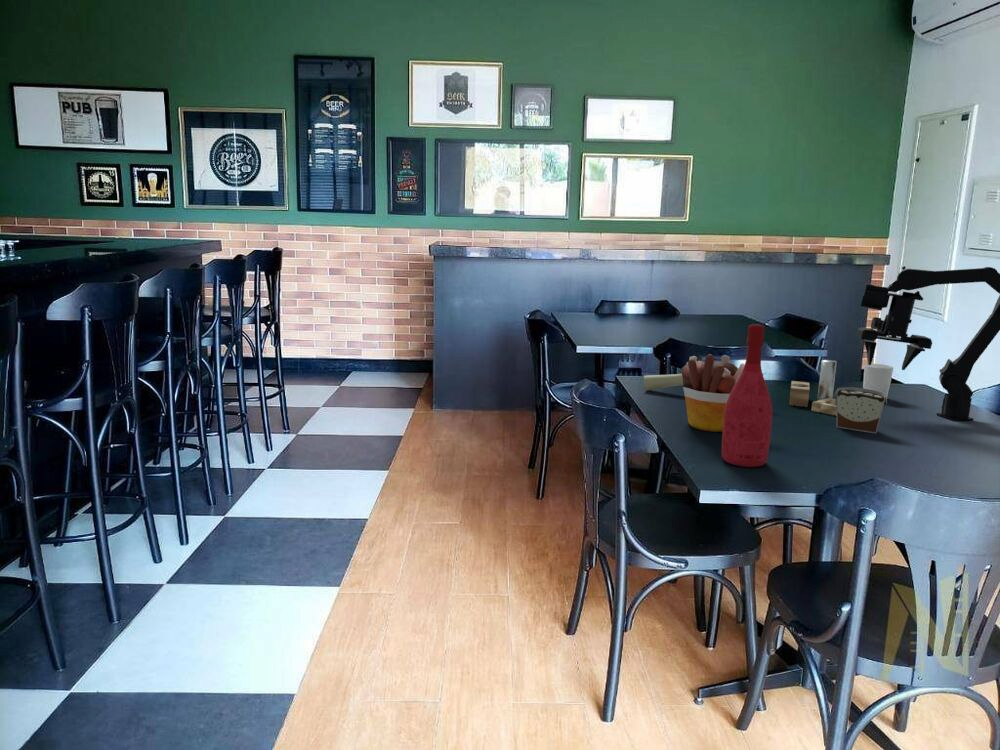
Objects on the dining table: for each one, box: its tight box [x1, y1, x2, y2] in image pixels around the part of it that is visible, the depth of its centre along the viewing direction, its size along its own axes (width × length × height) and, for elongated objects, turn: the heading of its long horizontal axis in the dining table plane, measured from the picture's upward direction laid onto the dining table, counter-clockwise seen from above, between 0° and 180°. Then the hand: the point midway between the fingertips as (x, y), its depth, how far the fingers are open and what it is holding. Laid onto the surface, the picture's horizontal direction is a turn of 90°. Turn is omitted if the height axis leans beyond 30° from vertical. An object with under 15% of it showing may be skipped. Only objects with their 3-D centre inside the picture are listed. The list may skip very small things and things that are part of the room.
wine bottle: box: [721, 323, 773, 468], centre depth 156 cm, size 10×10×30 cm
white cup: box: [862, 363, 894, 398], centre depth 226 cm, size 8×8×10 cm
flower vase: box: [643, 363, 764, 392], centre depth 220 cm, size 12×12×35 cm
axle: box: [816, 359, 837, 401], centre depth 215 cm, size 4×4×13 cm
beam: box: [788, 380, 811, 408], centre depth 218 cm, size 12×5×5 cm, turn 158°
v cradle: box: [811, 398, 837, 417], centre depth 207 cm, size 8×14×2 cm, turn 174°
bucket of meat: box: [681, 353, 745, 433], centre depth 185 cm, size 20×16×20 cm
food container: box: [833, 387, 888, 434], centre depth 189 cm, size 12×6×10 cm, turn 56°
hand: (886, 367), depth 209 cm, fingers open, 9 cm apart
